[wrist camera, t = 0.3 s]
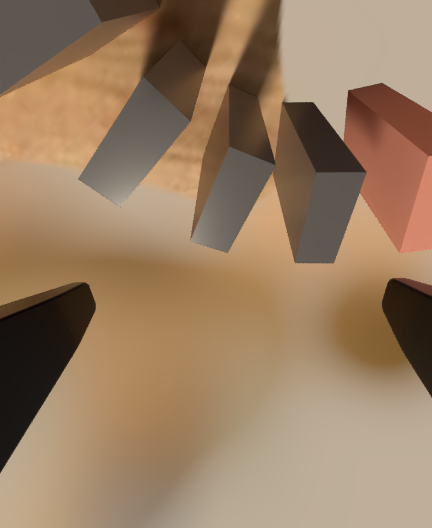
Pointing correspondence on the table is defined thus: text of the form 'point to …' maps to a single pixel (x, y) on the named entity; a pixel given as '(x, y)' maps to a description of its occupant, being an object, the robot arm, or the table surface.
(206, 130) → the table surface
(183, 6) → the table surface
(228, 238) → the domino
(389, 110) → the domino
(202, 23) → the table surface
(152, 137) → the domino
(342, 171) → the domino
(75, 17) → the domino
